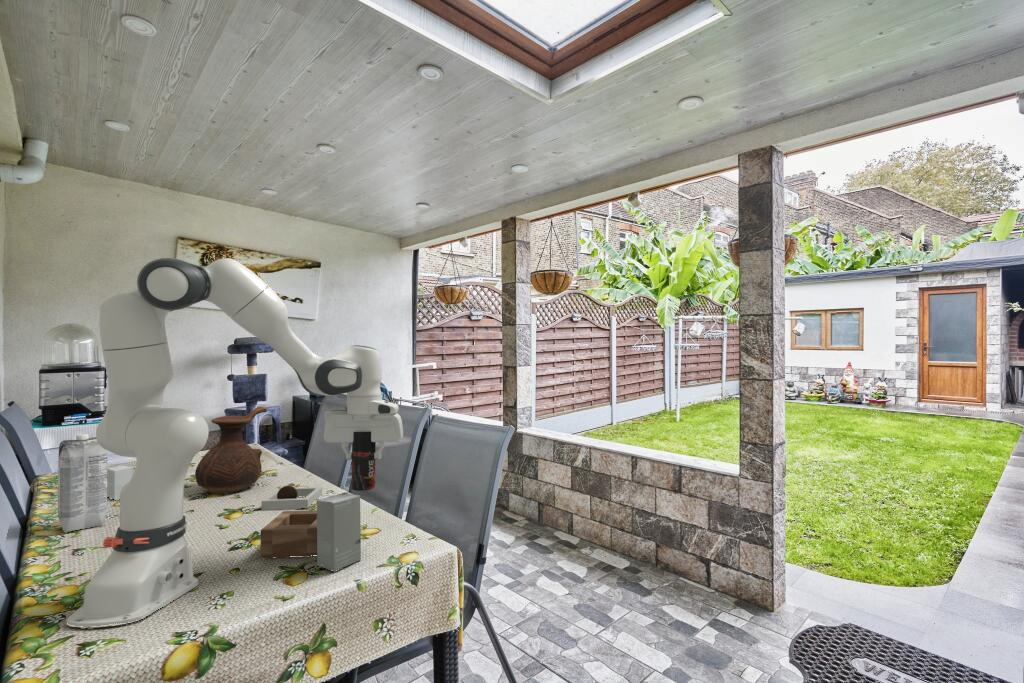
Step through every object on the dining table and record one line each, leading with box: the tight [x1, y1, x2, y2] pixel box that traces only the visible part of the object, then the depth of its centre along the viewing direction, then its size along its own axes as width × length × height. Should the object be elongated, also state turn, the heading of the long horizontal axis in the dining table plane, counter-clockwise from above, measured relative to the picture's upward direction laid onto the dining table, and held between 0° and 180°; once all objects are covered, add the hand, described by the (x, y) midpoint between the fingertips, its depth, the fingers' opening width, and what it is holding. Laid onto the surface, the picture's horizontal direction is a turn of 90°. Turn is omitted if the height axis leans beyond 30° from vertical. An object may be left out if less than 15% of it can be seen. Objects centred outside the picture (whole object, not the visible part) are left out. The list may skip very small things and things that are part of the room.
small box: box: [107, 464, 134, 501], centre depth 170 cm, size 8×6×10 cm
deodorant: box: [351, 432, 377, 492], centre depth 127 cm, size 6×6×15 cm
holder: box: [260, 509, 317, 559], centre depth 125 cm, size 14×14×7 cm
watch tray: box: [261, 486, 323, 511], centre depth 162 cm, size 14×14×3 cm
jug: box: [194, 405, 267, 495], centre depth 179 cm, size 22×22×30 cm
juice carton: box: [57, 434, 108, 533], centre depth 141 cm, size 9×10×27 cm
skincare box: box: [316, 492, 362, 572], centre depth 115 cm, size 8×7×16 cm
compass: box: [277, 484, 298, 499], centre depth 160 cm, size 8×8×7 cm
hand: (363, 459), depth 127 cm, fingers closed on deodorant, 6 cm apart
